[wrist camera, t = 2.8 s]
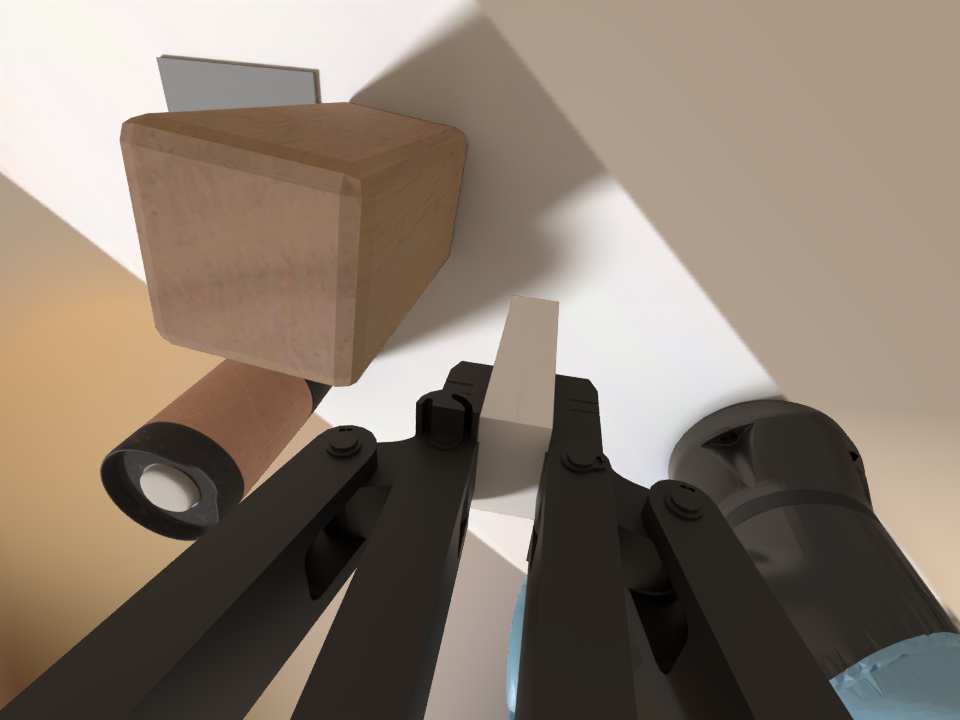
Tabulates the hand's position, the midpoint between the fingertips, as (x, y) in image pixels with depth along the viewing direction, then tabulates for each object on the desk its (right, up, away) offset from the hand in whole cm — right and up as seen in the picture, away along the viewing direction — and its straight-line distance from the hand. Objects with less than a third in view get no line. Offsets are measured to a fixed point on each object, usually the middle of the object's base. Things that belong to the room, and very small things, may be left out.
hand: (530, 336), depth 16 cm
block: (-8, +13, +21) cm, 26 cm away
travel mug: (-17, +1, +29) cm, 34 cm away
